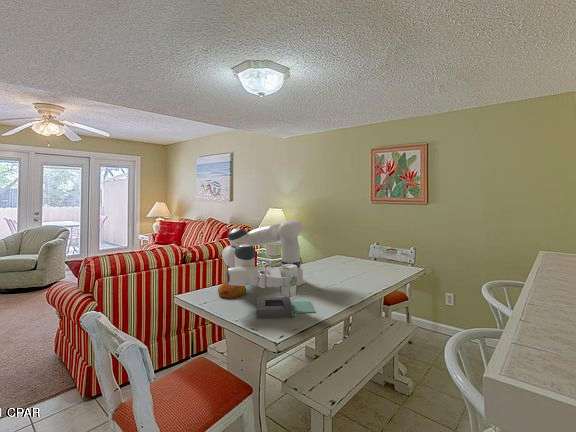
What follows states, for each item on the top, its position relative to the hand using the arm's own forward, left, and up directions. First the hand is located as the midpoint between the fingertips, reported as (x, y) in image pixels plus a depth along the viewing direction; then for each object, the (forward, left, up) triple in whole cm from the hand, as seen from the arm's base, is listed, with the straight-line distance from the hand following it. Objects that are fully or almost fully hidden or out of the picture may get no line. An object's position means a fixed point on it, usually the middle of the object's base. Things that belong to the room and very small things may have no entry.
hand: (290, 276), depth 144 cm
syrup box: (0, -1, -9) cm, 10 cm away
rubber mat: (-3, +6, -16) cm, 18 cm away
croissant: (-24, -30, -17) cm, 42 cm away
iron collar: (+1, -8, -16) cm, 18 cm away
